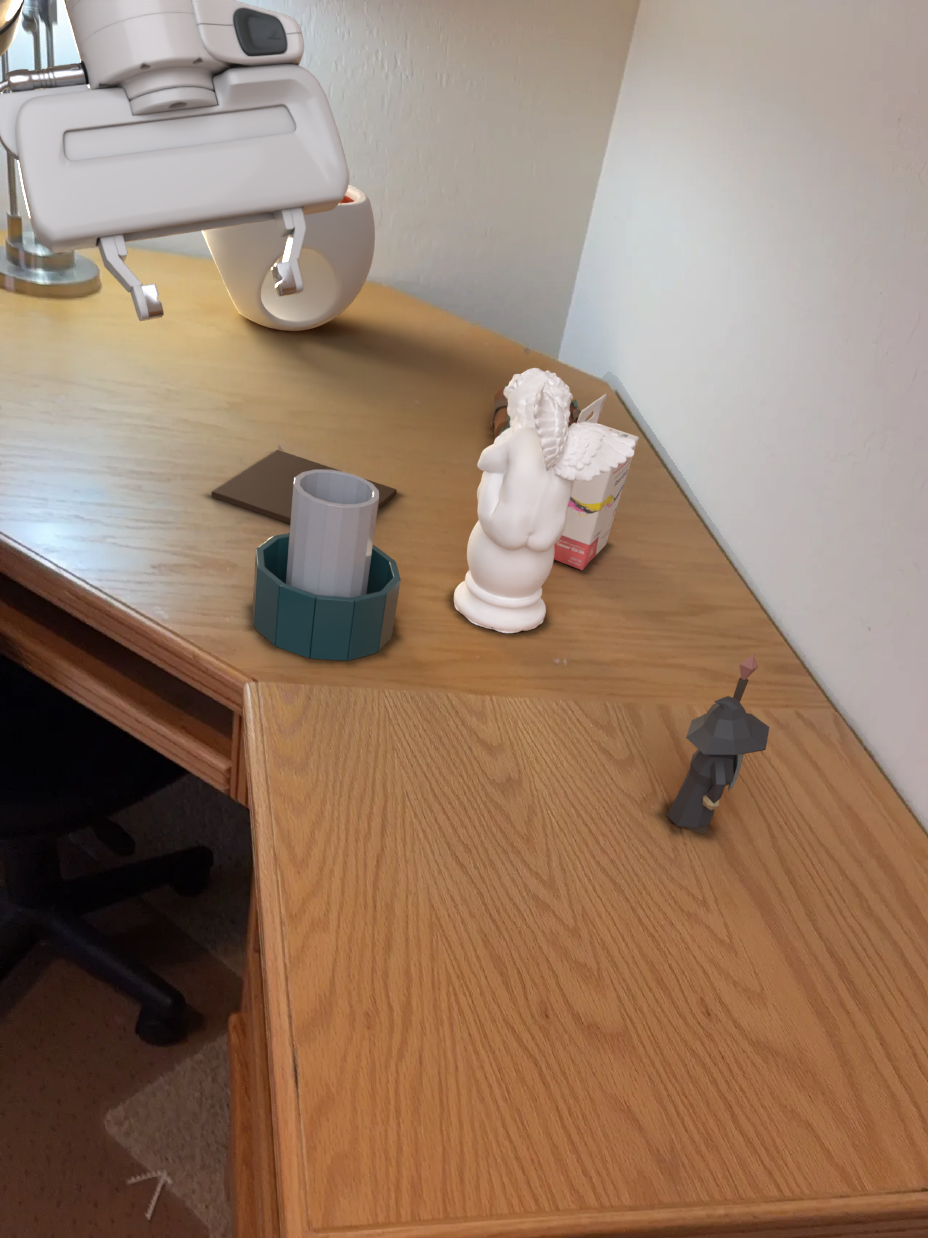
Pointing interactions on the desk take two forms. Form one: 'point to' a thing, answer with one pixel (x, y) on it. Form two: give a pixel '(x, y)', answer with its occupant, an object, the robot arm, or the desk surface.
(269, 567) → the teal faceted ring
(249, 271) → the pot
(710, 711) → the wizard figurine
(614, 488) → the ink cartridge box
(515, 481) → the cherub figurine
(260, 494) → the mat
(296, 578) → the cup
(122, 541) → the desk surface
